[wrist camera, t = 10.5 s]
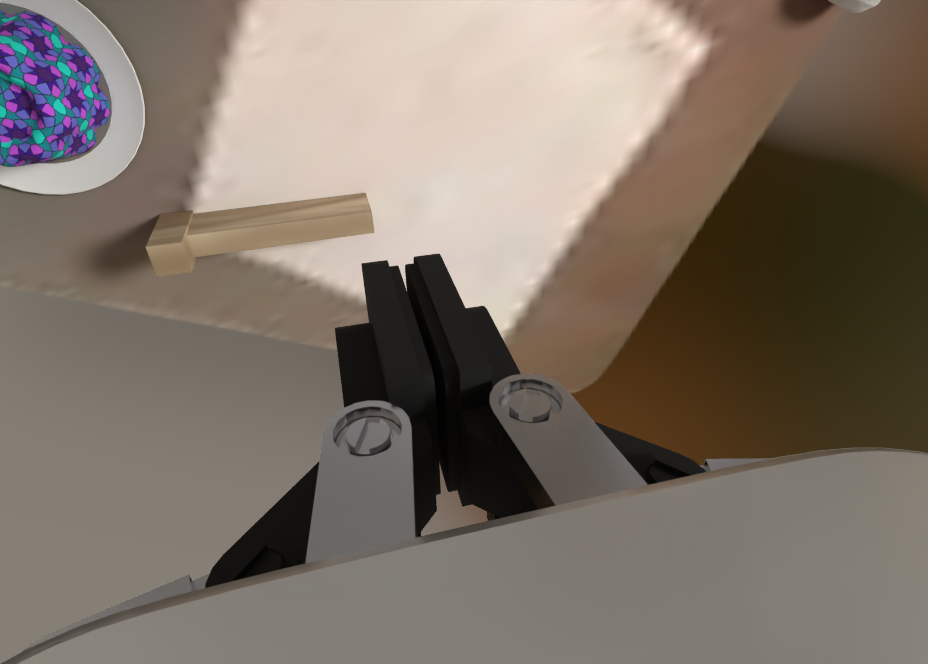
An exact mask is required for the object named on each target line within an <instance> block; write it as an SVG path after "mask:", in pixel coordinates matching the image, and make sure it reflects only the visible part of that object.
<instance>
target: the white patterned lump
mask: <svg viewBox="0 0 928 664" xmlns="http://www.w3.org/2000/svg"><path fill="white" fill-rule="evenodd" d="M828 1H829V2H831V3H833V4H834V5H836V6H837V7H839V8H841V9H843V10H846V11H850V12H855V13H857V12H862V11H865V10H867V9H869V8H871V7H873V6H876V5H877V4H878V3H879V2H880V1H881V0H828Z"/></svg>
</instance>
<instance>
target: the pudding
mask: <svg viewBox="0 0 928 664" xmlns="http://www.w3.org/2000/svg"><path fill="white" fill-rule="evenodd" d="M0 3H7V4H12V5H16V6H20V7H24V8H27V9H29V10H32V11H34V12H37V13H39V14H41V15H43V16H45V17H47V18H49V19H50V20H52V21H54V22H56V23H57V24H59V25H60V26H61V27H63V28H64V29H65V30H67V31H68V32H70V33H71V34H72V35H73V36H74V37H75V38H76V39H77V40H78V41H79V42H80V43H81V44H82V45H84V46H85V48H86V49H87V50H88V51H89V53H90V54H91V55H92V56H93V58H94V59H95V60H96V62H97V64H98V65H99V67H100V69H101V71H102V72H103V74H104V77H105V79H106V82H107V84H108V86H109V91H110V95H111V99H112V117H111V123H110V127H109V129H108V131H107V134H106V136H105V137H104V139H103V140H102V142H101V143H100V144H99V145H98V146H97V147H96V148H95V149H94V150H93V151H92V152H90V153H89V154H87V155H85V156H83V157H81V158H79V159H76V160H73V161H70V162H64V163H57V164H44V163H42V162H47V161H53V160H55V159H59V158H64V157H70V156H75V155H79V154H82V153H85V152H87V151H89V150H90V149H91V148H92V147H93V146H94V144H95V143H96V135H95V129H96V128H98V127H100V126H102V125H104V124H106V123H107V121H108V118H109V115H110V108H109V102H108V99H107V98H106V97H105V95H104V94H103V93H102V92H101V91H100V90H99V89H98V87H97V85H98V80H99V75H100V73H99V71H98V69H97V66H96V64H95V62H94V60H93V59H92V58H91V57H90V56H89V55H88V54H87V53H86V52H85V51H84V50H83V48H81V47H78V46H75V45H72V44H69V43H67V42H65V41H64V39H63V37H62V36H61V34H60V32H59V30H58V29H57V27H56V26H55V25H54V24H52V23H51V22H49V21H48V20H46V19H45V18H44V17H42V16H40V15H36V14H33V13H30V12H26V11H24V12H21V13H18V14H15V15H13V16H9V15H8V14H6V13H4V12H3V11H1V10H0V184H1V185H3V186H7V187H10V188H14V189H17V190H21V191H26V192H32V193H39V194H61V195H64V194H71V193H78V192H84V191H87V190H90V189H93V188H96V187H99V186H101V185H103V184H105V183H106V182H108V181H110V180H112V179H114V178H115V177H116V176H117V175H118V174H119V173H121V172H122V171H123V170H124V169H125V168H126V167H127V166H128V164H129V163H130V162H131V160H132V159H133V158H134V156H135V155H136V152H137V150H138V148H139V145H140V143H141V141H142V136H143V131H144V126H145V106H144V100H143V95H142V90H141V86H140V84H139V81H138V78H137V76H136V73H135V70H134V68H133V66H132V64H131V62H130V60H129V59H128V57H127V55H126V53H125V52H124V50H123V48H122V47H121V45H120V44H119V43H118V41H117V40H116V39H115V37H114V36H113V35H112V33H111V32H110V31H109V29H108V28H107V27H106V26H105V25H104V24H103V23H102V22H101V21H100V20H99V19H98V18H97V17H96V16H95V15H94V14H93V13H92V12H91V11H90V10H89V9H87V8H86V7H85V6H83V5H82V4H81V3H80V2H78V1H77V0H0Z"/></svg>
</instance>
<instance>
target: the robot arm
mask: <svg viewBox="0 0 928 664" xmlns="http://www.w3.org/2000/svg"><path fill="white" fill-rule="evenodd" d="M362 272H363V280H364V287H365V295H366V303H367V310H368V318H369V323H364V324H358V325H351V326H344V327H338V328H335V333H336V342H337V350H338V358H339V366H340V375H341V383H342V392H343V400H344V408H343V409H342V410H340V411H339V412H337V413H336V414H335V415H334V416H333V417H332V418H331V419H330V421H329V422H328V423H327V425H326V428H325V431H324V433H323V440H322V447H321V454H320V461H319V462H318V463H317V464H316V465H315V466H314V467H313V468H312V469H311V470H310V471H309V472H308V473H307V474H306V475H305V476H304V477H303V478H302V479H301V480H300V481H299V482H298V483H297V484H296V485H295V486H294V487H292V489H290V490H289V491H288V492H287V493H286V494H285V495H284V496H283V497H282V498H281V499H280V500H279V501H278V502H277V503H276V504H275V505H274V506H273V507H272V508H271V509H270V510H269V511H268V512H267V513H266V514H265V515H264V516H263V517H262V518H261V519H260V520H258V521H257V523H255V524H254V525H253V526H252V527H251V528H250V529H249V530H248V531H247V532H246V533H245V534H244V535H243V536H242V537H241V538H240V539H239V540H238V541H237V542H236V543H235V544H234V545H233V546H232V547H231V548H230V549H229V550H228V551H227V552H226V553H225V554H224V555H223V556H222V557H221V558H220V560H219V561H218V562H217V563H216V564H215V565H214V567H213V568H212V570H211V572H210V574H207V575H205V576H203V577H200V578H198V579H196V580H193V581H192V579H191V577H190V575H187V576H184V577H182V578H180V579H177V580H175V581H173V582H170V583H168V584H165V585H163V586H161V587H159V588H156V589H154V590H151V591H149V592H146V593H144V594H142V595H139V596H137V597H135V598H132V599H130V600H127V601H125V602H123V603H120V604H118V605H116V606H113V607H111V608H108V609H106V610H104V611H101V612H99V613H97V614H94V615H92V616H90V617H87V618H85V619H82V620H80V621H78V622H76V623H73V624H71V625H68V626H66V627H64V628H61V629H59V630H56V631H54V632H52V633H49V634H48V635H46V636H44V637H42V638H41V639H39V640H37V641H35V642H34V643H32V644H30V645H29V646H28V647H27V648H25V649H24V650H23V651H22V652H21V653H19V654H17V655H16V656H14V657H12V658H10V659H8V660H7V661H5V662H3V663H1V664H928V453H923V452H917V451H907V450H899V449H890V448H845V449H835V450H823V451H814V452H809V453H803V454H797V455H790V456H784V457H778V458H771V459H706V460H705V463H704V465H703V466H700V465H698V464H697V463H696V462H695V461H693V460H691V459H689V458H687V457H685V456H683V455H681V454H679V453H676V452H673V451H671V450H668V449H665V448H662V447H660V446H657V445H655V444H652V443H649V442H647V441H644V440H641V439H639V438H636V437H633V436H631V435H628V434H625V433H623V432H620V431H617V430H615V429H612V428H609V427H607V426H604V425H601V424H599V423H596V422H594V421H593V420H592V419H591V418H590V416H589V415H588V414H587V413H586V412H585V411H584V410H583V408H582V407H581V406H580V405H579V404H578V403H577V401H576V400H575V399H574V398H573V397H572V395H571V394H570V393H569V392H568V391H567V390H566V389H565V388H564V387H563V386H562V385H561V384H560V383H558V382H557V381H555V380H553V379H551V378H549V377H546V376H542V375H538V374H527V373H522V374H521V373H520V371H519V369H518V367H517V366H516V364H515V362H514V360H513V358H512V356H511V354H510V352H509V350H508V348H507V347H506V345H505V343H504V341H503V339H502V337H501V335H500V333H499V331H498V329H497V327H496V326H495V324H494V322H493V320H492V318H491V316H490V314H489V312H488V310H487V309H486V308H485V307H484V306H479V307H472V308H465V306H464V304H463V302H462V300H461V298H460V296H459V294H458V291H457V289H456V287H455V285H454V283H453V281H452V279H451V276H450V274H449V272H448V270H447V268H446V266H445V264H444V262H443V259H442V257H441V255H440V254H432V255H425V256H417V257H414V264H406V265H405V273H406V285H407V291H406V288H405V285H404V282H403V279H402V276H401V273H400V270H399V267H398V266H391V267H389V264H388V261H387V260H385V261H378V262H370V263H362ZM439 462H440V466H441V469H442V473H443V476H444V480H445V483H446V487H447V490H448V492H451V491H456V490H458V493H459V497H460V500H461V503H462V506H467V505H471V504H473V505H475V506H477V507H479V508H481V509H483V510H485V511H487V520H488V521H486V522H483V523H478V524H473V525H469V526H465V527H461V528H456V529H452V530H447V531H443V532H438V533H434V534H430V535H425V536H421V531H422V530H423V528H424V526H425V525H426V524H427V523H428V521H429V520H430V519H431V517H432V516H433V515H434V513H435V512H436V511H437V506H436V495H437V494H440V493H441V492H440V491H441V490H440V470H439Z"/></svg>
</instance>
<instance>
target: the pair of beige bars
mask: <svg viewBox="0 0 928 664" xmlns="http://www.w3.org/2000/svg"><path fill="white" fill-rule="evenodd" d="M368 233H374V226H373V219H372V212H371V208H370V205H369V202H368V199H367V196H366V193H360V194H352V195H344V196H336V197H328V198H320V199H312V200H303V201H295V202H287V203H279V204H271V205H263V206H255V207H246V208H238V209H230V210H222V211H214V212H206V213H198V214H194V213H193V210H192V211H184V212H176V213H168V214H160V216H159V219H158V221H157V223H156V225H155V227H154V229H153V232H152V234H151V236H150V238H149V240H148V243H147V245H146V250H147V252H148V255H149V257H150V260H151V262H152V265H153V267H154V270H155V273H156V275H157V277H159V276H166V275H174V274H181V273H188V272H192V270H193V266H194V263H195V259H196V257H200V256H208V255H215V254H222V253H229V252H237V251H244V250H251V249H259V248H266V247H273V246H281V245H288V244H295V243H303V242H310V241H317V240H324V239H332V238H339V237H346V236H354V235H361V234H368Z"/></svg>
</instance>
